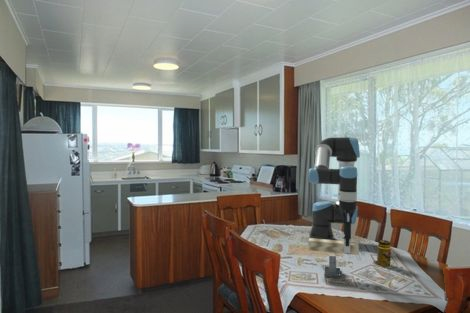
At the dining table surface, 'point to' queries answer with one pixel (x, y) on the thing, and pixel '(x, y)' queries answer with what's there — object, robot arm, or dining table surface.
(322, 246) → the bar
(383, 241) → the condiment
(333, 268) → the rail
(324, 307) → the dining table surface
